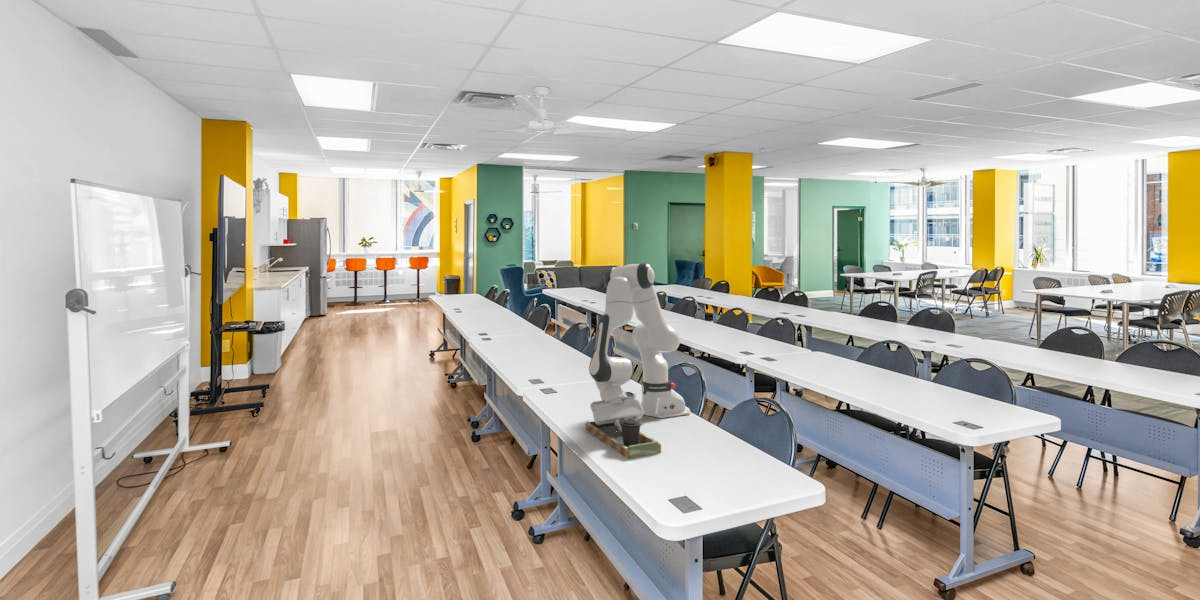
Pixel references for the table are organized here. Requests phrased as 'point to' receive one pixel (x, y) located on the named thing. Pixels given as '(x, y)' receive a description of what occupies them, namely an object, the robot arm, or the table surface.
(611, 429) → the mats
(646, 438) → the trap box
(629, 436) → the coffee cup
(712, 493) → the table surface
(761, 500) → the table surface
